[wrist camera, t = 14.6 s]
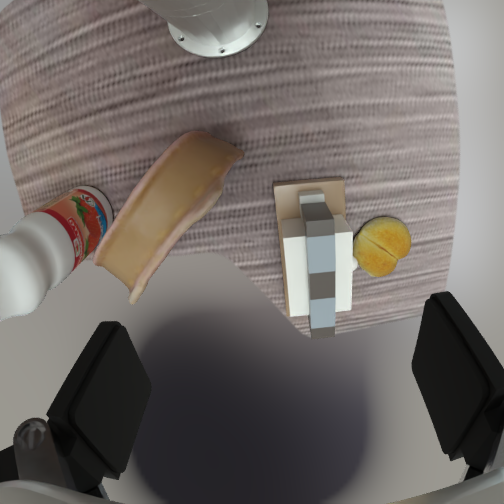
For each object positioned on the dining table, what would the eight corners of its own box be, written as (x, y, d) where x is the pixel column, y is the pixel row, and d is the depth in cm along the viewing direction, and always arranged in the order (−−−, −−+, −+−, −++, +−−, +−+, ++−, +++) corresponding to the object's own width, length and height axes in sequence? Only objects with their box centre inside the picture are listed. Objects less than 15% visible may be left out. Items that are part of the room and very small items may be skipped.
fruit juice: (63, 181, 42) (-75, 267, 17) (115, 187, 43) (-21, 293, 18) (66, 236, 46) (-47, 343, 21) (114, 246, 47) (10, 375, 22)
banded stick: (300, 204, 39) (305, 221, 33) (325, 201, 38) (334, 219, 33) (307, 311, 45) (311, 339, 40) (328, 309, 45) (334, 336, 40)
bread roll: (415, 235, 44) (426, 246, 40) (377, 277, 47) (384, 291, 44) (380, 202, 42) (389, 211, 39) (339, 248, 46) (345, 261, 42)
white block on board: (273, 182, 42) (274, 200, 34) (346, 176, 41) (363, 192, 33) (286, 308, 50) (288, 342, 43) (347, 302, 49) (358, 334, 42)
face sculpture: (166, 255, 47) (125, 325, 32) (129, 228, 45) (74, 288, 30) (249, 147, 40) (238, 175, 25) (207, 115, 38) (169, 124, 23)
